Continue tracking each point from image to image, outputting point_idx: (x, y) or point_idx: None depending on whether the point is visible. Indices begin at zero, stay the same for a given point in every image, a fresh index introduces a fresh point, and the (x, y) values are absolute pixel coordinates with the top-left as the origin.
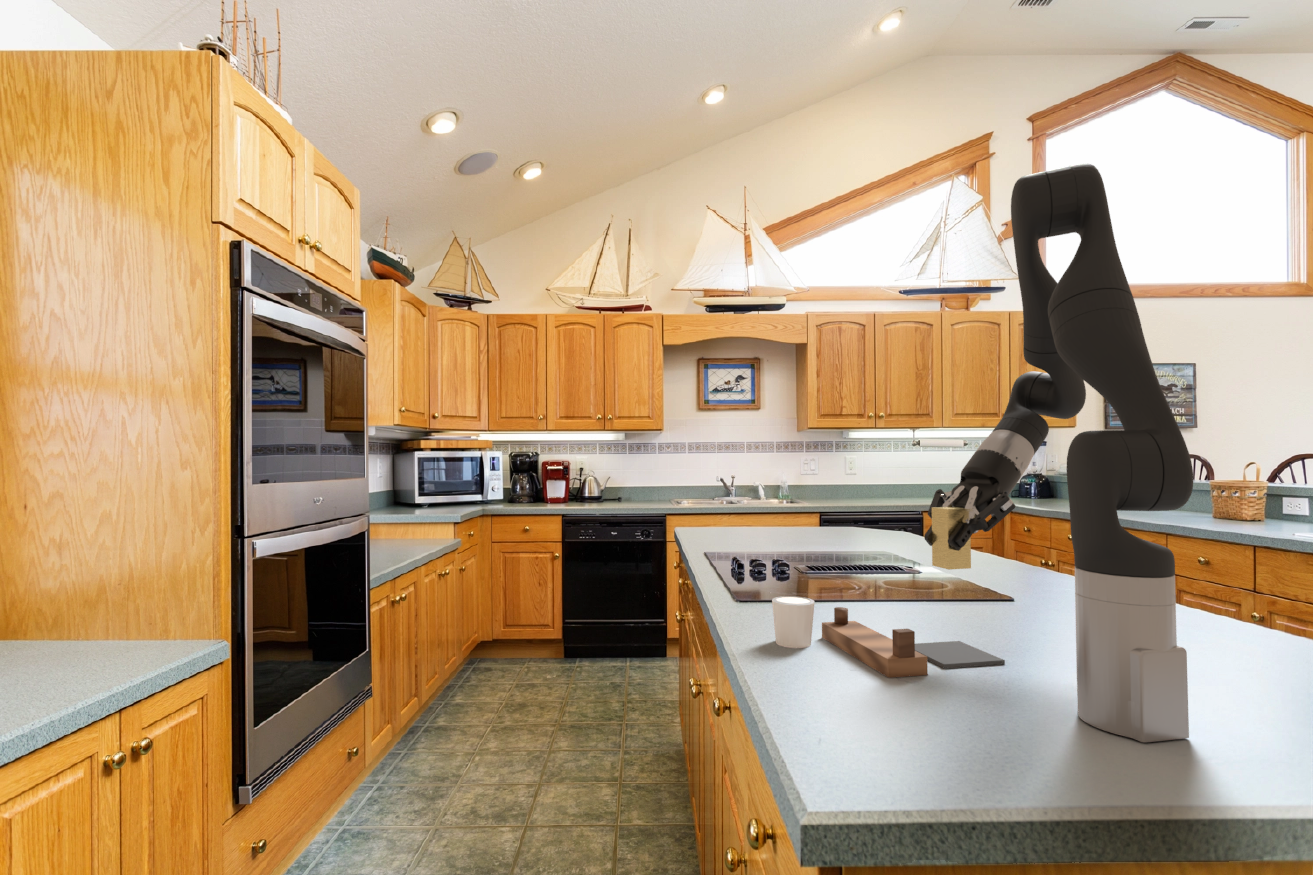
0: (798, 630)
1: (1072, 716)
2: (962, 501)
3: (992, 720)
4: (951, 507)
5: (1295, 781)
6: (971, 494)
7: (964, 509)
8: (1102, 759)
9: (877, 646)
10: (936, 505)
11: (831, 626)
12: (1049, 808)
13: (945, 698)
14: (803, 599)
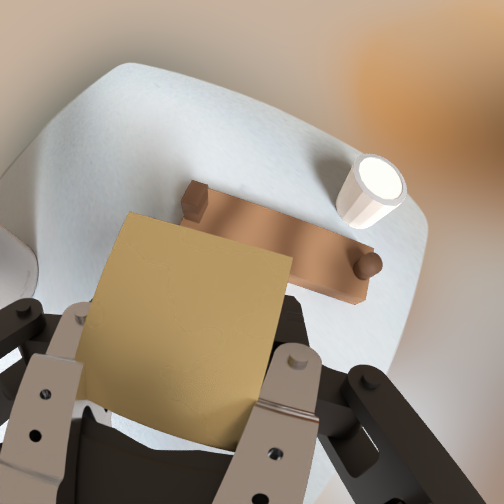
0: (343, 185)
1: (40, 257)
2: (159, 483)
3: (82, 190)
4: (210, 392)
5: None
6: (35, 476)
7: (81, 345)
8: (21, 196)
9: (244, 216)
10: (384, 430)
11: (352, 243)
12: (44, 127)
13: (128, 198)
14: (384, 194)
